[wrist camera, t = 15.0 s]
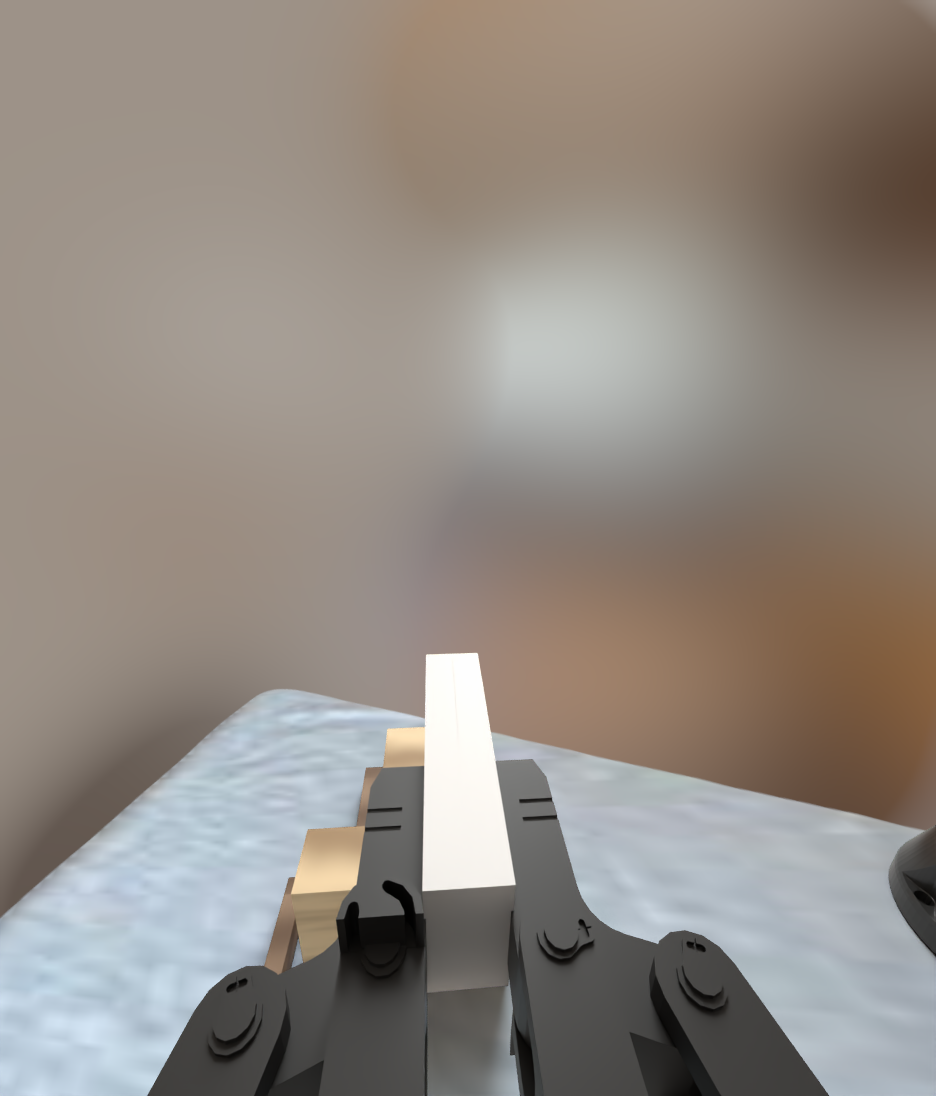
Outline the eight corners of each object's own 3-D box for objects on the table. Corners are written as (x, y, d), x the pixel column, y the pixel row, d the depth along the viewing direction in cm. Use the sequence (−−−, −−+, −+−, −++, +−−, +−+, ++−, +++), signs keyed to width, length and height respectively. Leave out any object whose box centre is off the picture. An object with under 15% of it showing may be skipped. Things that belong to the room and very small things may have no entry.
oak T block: (505, 976, 39) (513, 878, 34) (309, 993, 37) (290, 894, 33) (484, 807, 53) (487, 724, 49) (343, 815, 52) (333, 731, 48)
